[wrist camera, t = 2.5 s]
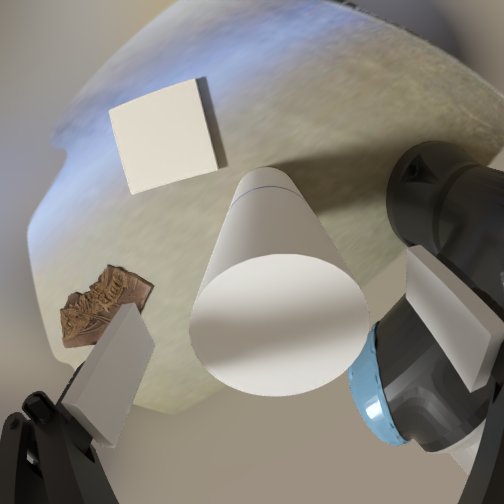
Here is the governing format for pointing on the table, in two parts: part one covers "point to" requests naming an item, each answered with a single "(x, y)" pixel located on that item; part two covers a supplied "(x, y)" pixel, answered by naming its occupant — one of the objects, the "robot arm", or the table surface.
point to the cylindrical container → (276, 295)
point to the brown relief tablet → (100, 306)
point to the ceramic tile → (163, 137)
